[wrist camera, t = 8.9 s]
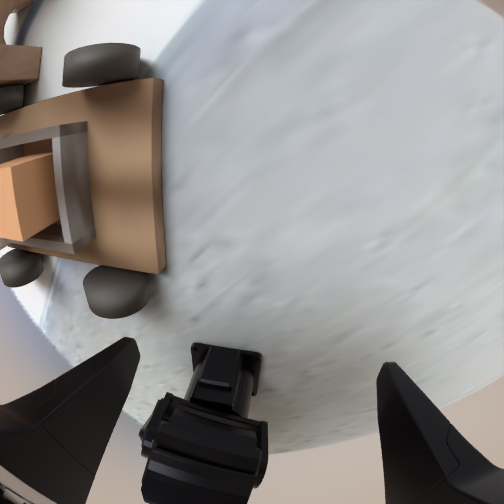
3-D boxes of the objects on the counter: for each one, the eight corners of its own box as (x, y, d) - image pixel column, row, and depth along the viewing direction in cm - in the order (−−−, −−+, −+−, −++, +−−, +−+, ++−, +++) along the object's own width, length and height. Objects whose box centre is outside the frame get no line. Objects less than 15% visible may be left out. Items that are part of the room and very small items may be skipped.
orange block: (74, 211, 20) (23, 241, 14) (37, 208, 20) (-10, 235, 15) (68, 149, 17) (10, 167, 12) (31, 154, 18) (-21, 171, 13)
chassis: (168, 288, 23) (140, 330, 18) (20, 258, 25) (-10, 281, 20) (165, 50, 15) (123, 33, 10) (1, 98, 17) (-38, 105, 12)
